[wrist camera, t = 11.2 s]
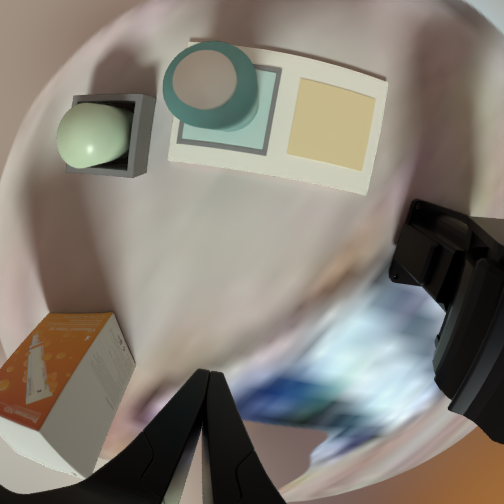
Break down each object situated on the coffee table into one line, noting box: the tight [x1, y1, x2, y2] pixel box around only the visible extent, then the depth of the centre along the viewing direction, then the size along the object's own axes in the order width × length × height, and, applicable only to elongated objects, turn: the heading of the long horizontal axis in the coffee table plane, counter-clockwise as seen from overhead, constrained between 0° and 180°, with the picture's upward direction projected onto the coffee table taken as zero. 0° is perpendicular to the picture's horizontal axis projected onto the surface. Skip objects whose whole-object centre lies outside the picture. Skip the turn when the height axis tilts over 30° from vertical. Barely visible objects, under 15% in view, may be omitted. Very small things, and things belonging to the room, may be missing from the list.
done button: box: [57, 103, 134, 168], centre depth 15 cm, size 4×4×4 cm
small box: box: [0, 312, 136, 480], centre depth 18 cm, size 8×6×13 cm
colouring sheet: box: [168, 42, 388, 196], centre depth 17 cm, size 13×8×1 cm, turn 80°
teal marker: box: [163, 41, 259, 132], centre depth 12 cm, size 4×4×8 cm
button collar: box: [66, 94, 156, 178], centre depth 16 cm, size 5×5×2 cm
